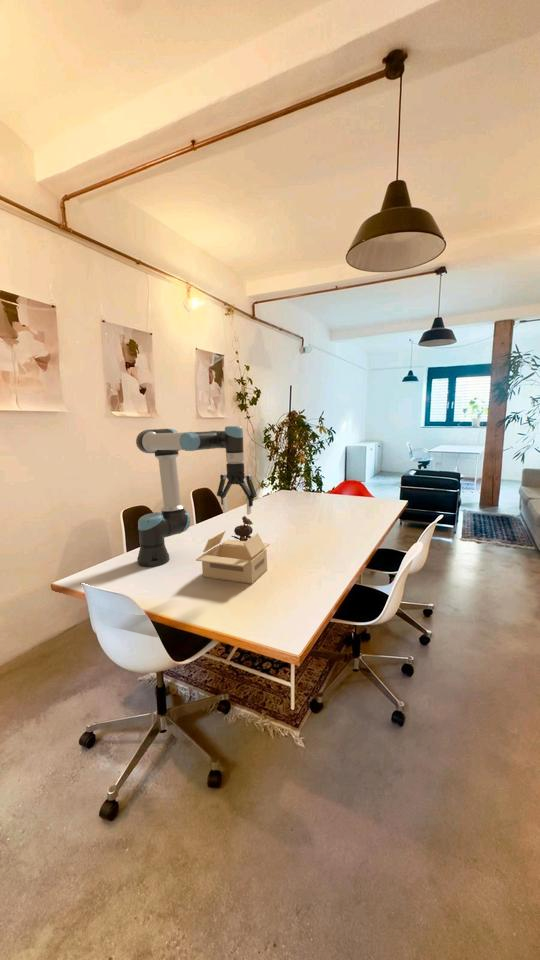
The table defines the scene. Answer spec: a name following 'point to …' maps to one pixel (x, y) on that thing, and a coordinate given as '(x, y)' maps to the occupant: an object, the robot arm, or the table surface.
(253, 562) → the carton
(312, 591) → the table surface
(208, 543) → the flap
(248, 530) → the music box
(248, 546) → the flap
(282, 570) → the table surface
